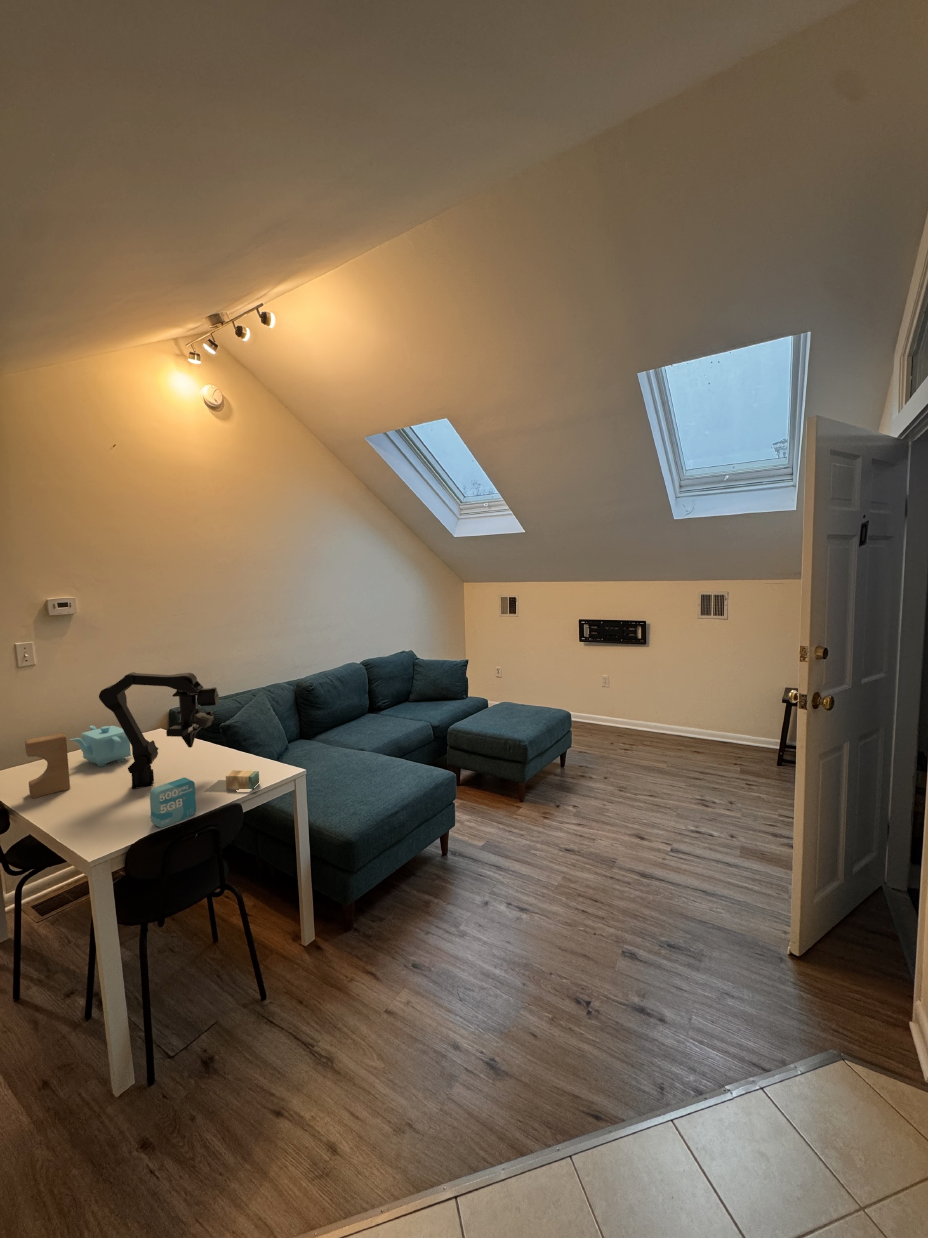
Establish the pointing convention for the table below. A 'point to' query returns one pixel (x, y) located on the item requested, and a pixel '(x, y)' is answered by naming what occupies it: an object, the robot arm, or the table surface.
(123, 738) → the teakettle
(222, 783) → the slate mat
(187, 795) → the data package
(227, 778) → the maple block
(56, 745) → the decorative block
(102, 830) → the table surface
